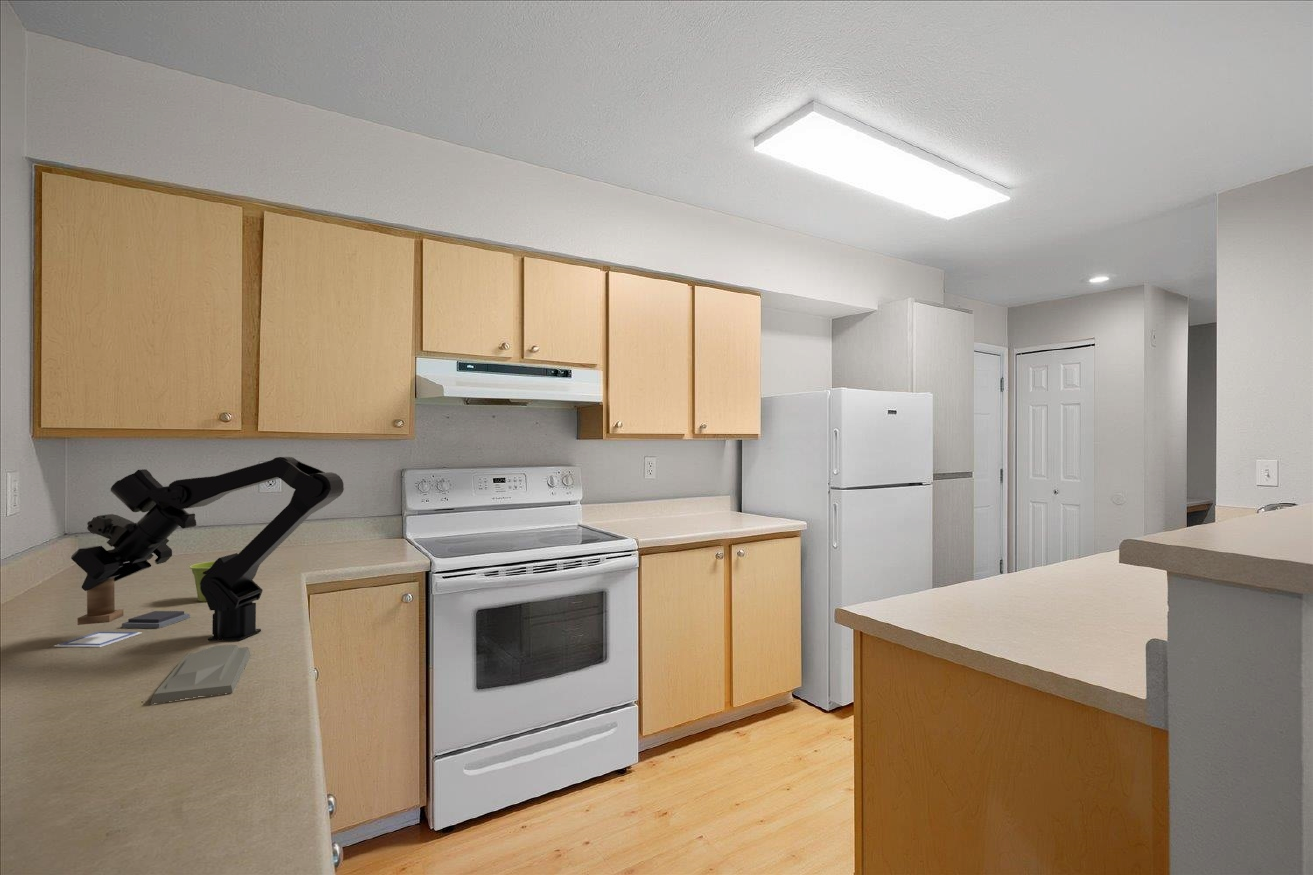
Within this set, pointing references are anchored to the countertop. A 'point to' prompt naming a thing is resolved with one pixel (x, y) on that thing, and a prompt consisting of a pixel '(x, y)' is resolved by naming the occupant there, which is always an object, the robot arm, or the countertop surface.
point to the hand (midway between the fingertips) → (93, 586)
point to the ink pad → (155, 619)
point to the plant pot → (200, 576)
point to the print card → (98, 639)
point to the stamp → (101, 605)
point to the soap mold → (204, 674)
